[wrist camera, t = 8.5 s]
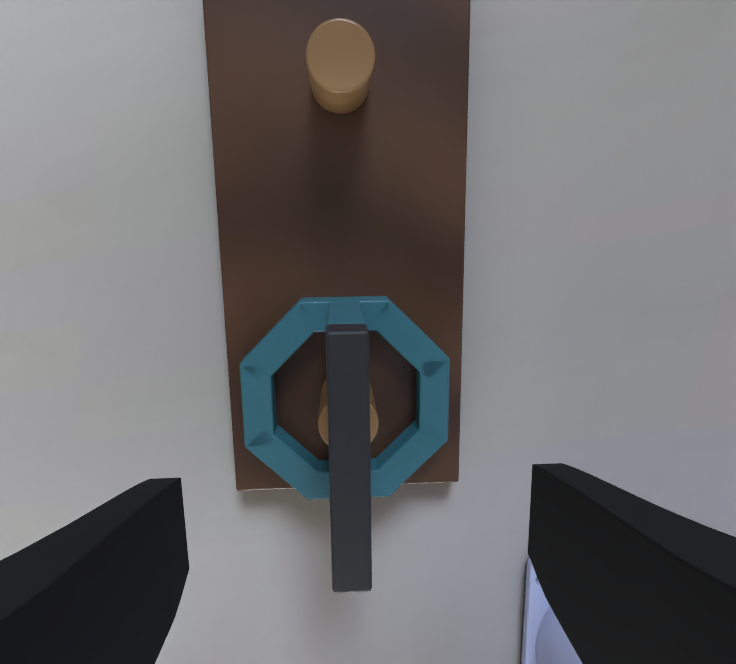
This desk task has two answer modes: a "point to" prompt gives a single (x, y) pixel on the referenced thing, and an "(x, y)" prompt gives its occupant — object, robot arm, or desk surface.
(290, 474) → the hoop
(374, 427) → the rack
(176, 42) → the desk surface
